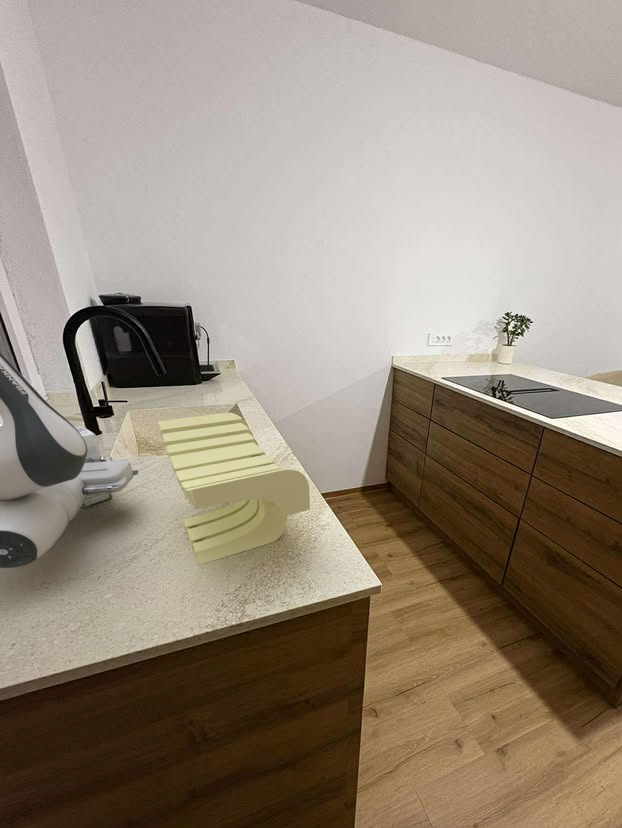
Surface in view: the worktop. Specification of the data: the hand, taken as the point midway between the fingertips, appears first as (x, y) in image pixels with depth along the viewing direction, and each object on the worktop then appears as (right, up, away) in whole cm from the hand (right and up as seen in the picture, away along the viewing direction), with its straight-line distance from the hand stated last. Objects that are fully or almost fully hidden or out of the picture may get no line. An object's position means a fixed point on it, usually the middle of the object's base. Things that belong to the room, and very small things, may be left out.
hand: (81, 461), depth 76 cm
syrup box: (0, -8, +3) cm, 8 cm away
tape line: (-3, -2, +13) cm, 14 cm away
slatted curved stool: (+32, -13, -5) cm, 35 cm away
